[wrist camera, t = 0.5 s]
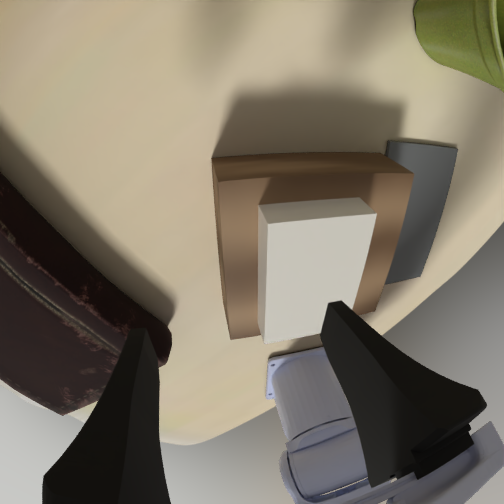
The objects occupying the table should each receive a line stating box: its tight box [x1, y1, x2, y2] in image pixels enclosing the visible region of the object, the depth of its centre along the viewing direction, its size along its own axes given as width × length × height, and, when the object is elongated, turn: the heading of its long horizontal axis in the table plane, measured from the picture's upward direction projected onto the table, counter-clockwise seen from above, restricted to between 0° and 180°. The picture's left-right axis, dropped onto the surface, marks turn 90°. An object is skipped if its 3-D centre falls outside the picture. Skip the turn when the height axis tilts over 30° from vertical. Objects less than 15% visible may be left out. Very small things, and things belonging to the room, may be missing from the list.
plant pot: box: [414, 0, 504, 92], centre depth 10 cm, size 9×9×9 cm
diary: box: [0, 172, 172, 416], centre depth 18 cm, size 19×25×5 cm
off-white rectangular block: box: [258, 197, 377, 344], centre depth 18 cm, size 9×6×2 cm, turn 0°
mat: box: [384, 141, 458, 285], centre depth 24 cm, size 14×8×1 cm, turn 0°
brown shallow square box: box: [211, 152, 414, 340], centre depth 20 cm, size 12×12×4 cm
